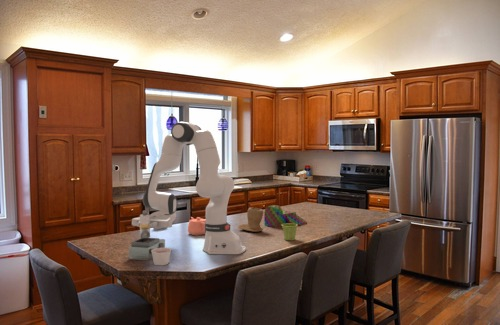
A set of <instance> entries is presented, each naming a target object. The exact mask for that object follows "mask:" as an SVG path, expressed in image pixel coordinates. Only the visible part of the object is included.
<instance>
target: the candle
mask: <svg viewBox="0 0 500 325" xmlns="http://www.w3.org/2000/svg"><path fill="white" fill-rule="evenodd" d="M151 252H152V257H153V258H152V261H153V264H154V265H155V266H165V265H168V264H169V263H170V261H171V260H170V259H171V253H172V249H171V248H170V247H165V248H155V249H153V250H151Z"/></svg>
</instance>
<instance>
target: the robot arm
mask: <svg viewBox="0 0 500 325" xmlns="http://www.w3.org/2000/svg"><path fill="white" fill-rule="evenodd" d="M170 133H171V134H170ZM170 133H169V134H167V135H166V136H165V137H164V140H163V143H162V146H161V153H160V157H159V159H158V161H156V162H155V163H153V167H152V169H151V172H150V176H149V179H148V183H147V187H146V189H145V192H144V194H143V197H142V203H143V206H144V207H145V208H146V209H147V210H148V209H149V210H157V211H154V212H152V213H151V214H149V215H150V224H149V227H150V228H152V229H154V230H160V229H159V228H162V229H168V228H173V222H174V221H175V219H176V217H177V208H178V199H177V198H176V196H175V194H173V193H170V192H169V193H168V192H163V191H157V189H158V184H159V180H160V178H161V176H162V175H163V174H165V173H167V172H172V171H174V170H176V169H178V168H179V167H180V165H181V163H182V162H181V161H182V157H183V156H182V155H183V148H184V146H191V145H192V146H194V149H195V153H196V156H197V161H198V165H199V176H198V178H199V179H198V180H197V182H196V184H195V191H196V194H198V195H199V197H202V198H205V199H206V198H207V199H209V202H208V204H207V205H206V206H205V219H206V223H205V234H204V237H205V238H204V242H203V243H204V244H203V247H202V251H203V252H205V253H206V254H209V255H240V254H243V253H244V252H245V251H247V247H246V246H245V245H242V240H241V237H240V236H239V235H238V234H237V233H235V232H234V231H232V230H231V226H232V224H231V223H229V222H228V218H227V217H228V216H227V215H228V214H227V213H228V210H227V209H228V204H229V199H230V196H231V193H232V192H233V191H234V188H235V181H234V179H233V178H232V177H231V176H230V175H226V174H219V173H218V172H219V166H220V164H221V159H220V154H219V151H218V148H217V144H216V141H215V138H214V137H213V134H212V133H211V131H209V130H208V129H207V130H206V129H202V128H201V127H200V126H198V125H197V124H193V123H190V122H185V121H178V122H175V123H174V124H173V125H172V126H171V129H170ZM131 226H133V227H139V228H140V216H138V217H134V218H132V219H131Z"/></svg>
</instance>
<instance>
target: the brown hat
mask: <svg viewBox="0 0 500 325" xmlns="http://www.w3.org/2000/svg"><path fill="white" fill-rule="evenodd" d="M246 213H247V215H246V216H247V224H240V225H238V227H237V228H238V229H239V230H244V231H247V232H255V233H257V232H261V231H263V230H264V229H263V228H262V227H261V222H262V219H263V218H264V217H263V216H264V210H263V209H262V208H258V207H248V209H247V212H246Z"/></svg>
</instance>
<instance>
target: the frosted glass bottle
mask: <svg viewBox="0 0 500 325" xmlns="http://www.w3.org/2000/svg"><path fill="white" fill-rule="evenodd" d="M150 215H151V214H148V210H142V213H141V214H139V217H140V227H139V239H140V238H151V227H149V224H150Z"/></svg>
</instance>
